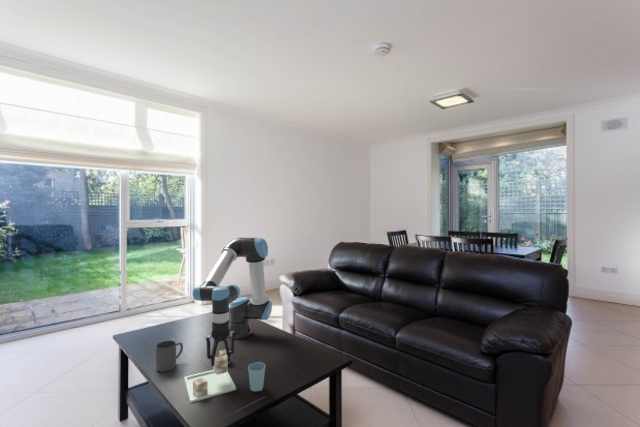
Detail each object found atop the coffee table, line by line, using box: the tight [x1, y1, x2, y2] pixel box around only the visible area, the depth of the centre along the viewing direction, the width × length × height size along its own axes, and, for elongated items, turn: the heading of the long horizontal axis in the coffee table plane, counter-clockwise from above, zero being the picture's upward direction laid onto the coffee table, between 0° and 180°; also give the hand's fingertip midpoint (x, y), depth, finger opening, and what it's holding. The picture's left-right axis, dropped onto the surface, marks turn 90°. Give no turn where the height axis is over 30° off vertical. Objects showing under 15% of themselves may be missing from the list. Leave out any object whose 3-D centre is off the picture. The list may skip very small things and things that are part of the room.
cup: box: [247, 361, 266, 392], centre depth 141 cm, size 8×8×10 cm
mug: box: [155, 340, 184, 373], centre depth 161 cm, size 14×9×12 cm
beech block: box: [215, 356, 228, 375], centre depth 145 cm, size 4×4×6 cm
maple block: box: [193, 377, 208, 398], centre depth 135 cm, size 4×4×6 cm
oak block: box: [218, 349, 231, 365], centre depth 165 cm, size 4×4×6 cm
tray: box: [183, 369, 237, 404], centre depth 144 cm, size 19×21×2 cm
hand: (220, 370), depth 145 cm, fingers closed on beech block, 4 cm apart
